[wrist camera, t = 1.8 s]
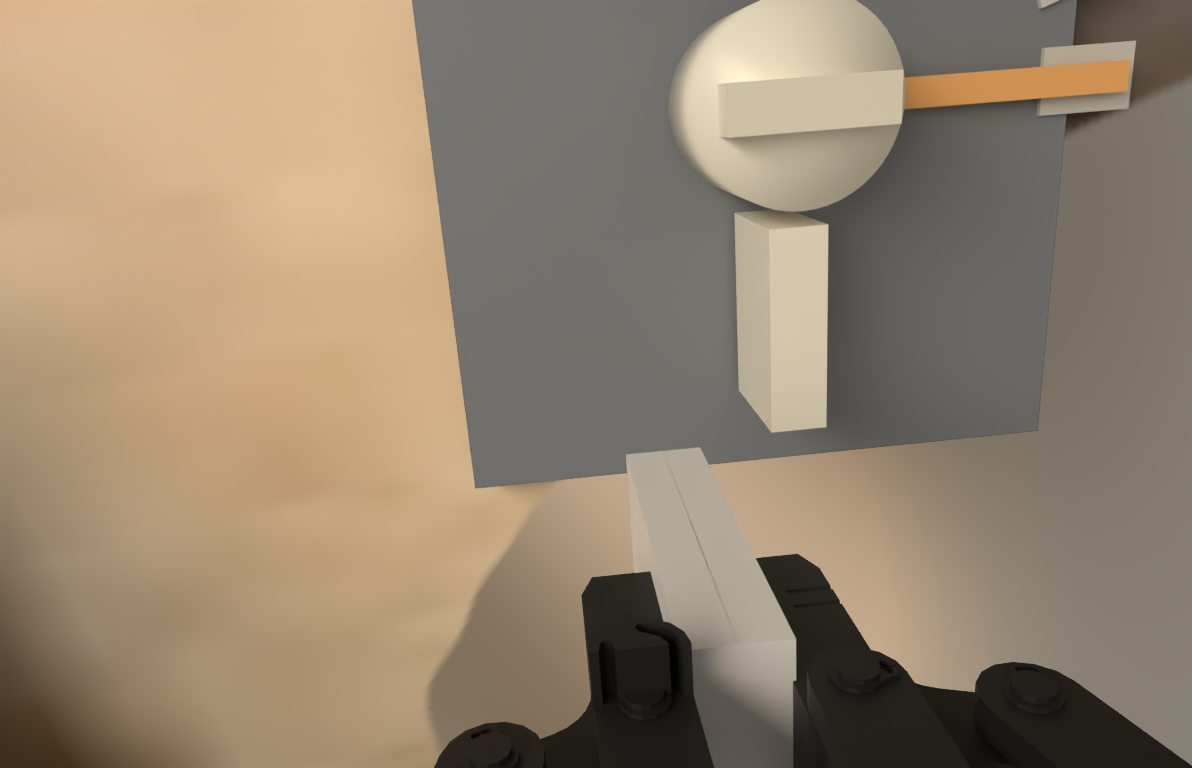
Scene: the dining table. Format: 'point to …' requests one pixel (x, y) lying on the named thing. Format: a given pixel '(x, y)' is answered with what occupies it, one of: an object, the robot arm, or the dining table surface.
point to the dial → (811, 161)
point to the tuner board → (730, 238)
